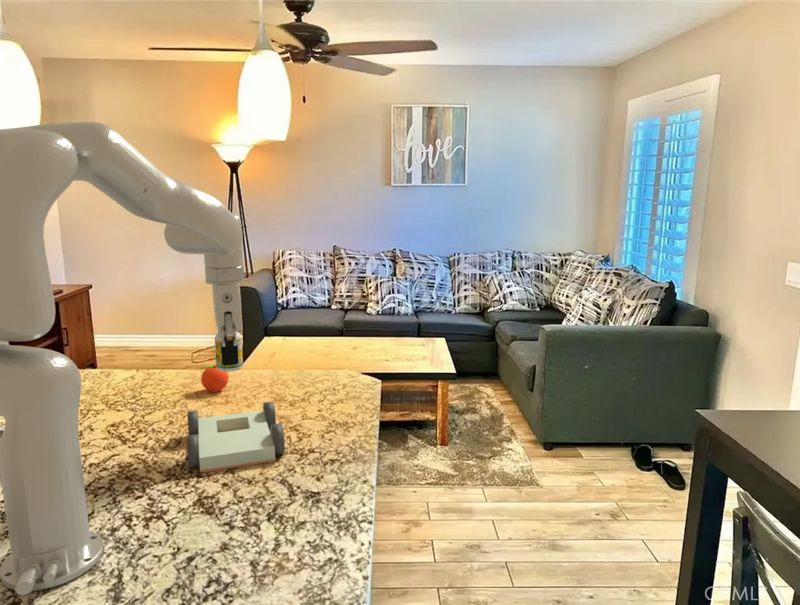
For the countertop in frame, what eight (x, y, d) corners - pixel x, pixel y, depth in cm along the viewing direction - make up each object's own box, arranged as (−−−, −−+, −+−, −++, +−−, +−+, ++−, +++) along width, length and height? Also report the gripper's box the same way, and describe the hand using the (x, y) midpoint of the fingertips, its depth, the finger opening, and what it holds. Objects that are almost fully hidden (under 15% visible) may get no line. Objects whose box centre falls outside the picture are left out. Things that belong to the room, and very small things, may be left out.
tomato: (192, 393, 149) (191, 367, 148) (208, 385, 155) (207, 360, 154) (219, 396, 147) (217, 370, 145) (234, 388, 153) (233, 362, 152)
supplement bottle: (243, 371, 118) (241, 326, 116) (216, 373, 116) (213, 327, 114) (242, 363, 123) (240, 320, 121) (216, 365, 121) (214, 322, 119)
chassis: (285, 459, 113) (284, 431, 111) (188, 474, 107) (186, 444, 105) (272, 421, 131) (271, 397, 130) (189, 432, 125) (187, 406, 124)
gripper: (247, 280, 109) (251, 370, 113) (240, 268, 125) (244, 348, 128) (206, 282, 107) (212, 374, 110) (204, 270, 122) (209, 351, 126)
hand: (229, 359), depth 119 cm, fingers closed on supplement bottle, 5 cm apart
